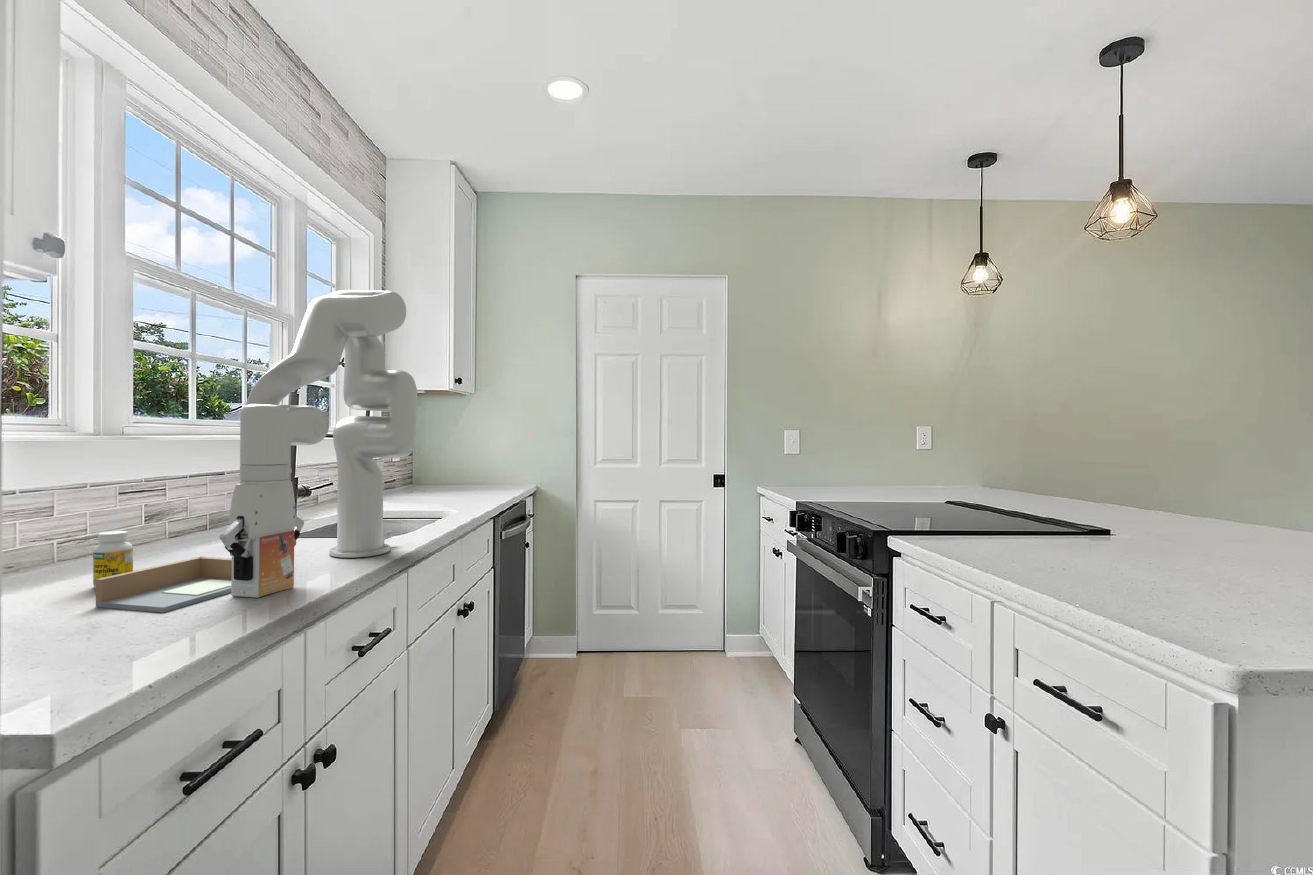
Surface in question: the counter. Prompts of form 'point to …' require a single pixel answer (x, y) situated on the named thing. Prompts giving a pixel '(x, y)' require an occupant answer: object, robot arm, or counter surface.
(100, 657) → the counter surface
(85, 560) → the counter surface
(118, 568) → the supplement bottle
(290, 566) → the small box
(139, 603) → the arena
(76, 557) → the counter surface
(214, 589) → the pad
